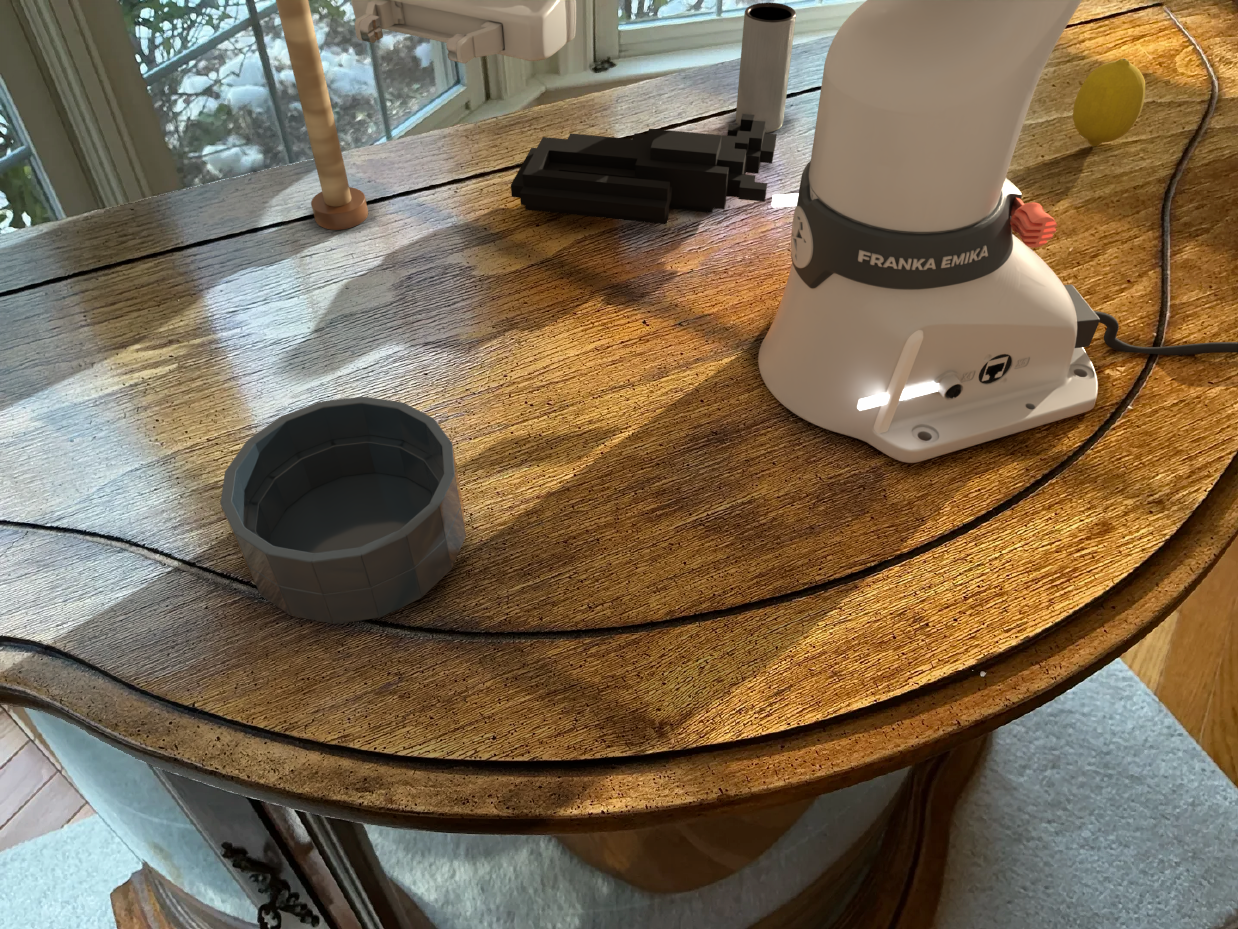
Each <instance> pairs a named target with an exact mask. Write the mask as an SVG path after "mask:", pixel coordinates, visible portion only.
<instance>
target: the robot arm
mask: <svg viewBox="0 0 1238 929" xmlns="http://www.w3.org/2000/svg"><path fill="white" fill-rule="evenodd" d="M350 1H351V2H350V3H351V8H352V11H353V16H354V18H355V21H354V29H355V35H356V38H357V40H358V41H361V42H366V43H371V44H374V43H376V42H377V41H380V40H381V39H383V38H384V34H383V30H386V31H390V32H394V33H400V34H404V35H409V36H413V37H418V38H422V39H427V40H431V41H436V42H441V43H446V45H445V46H446V50H447V58H448V60H449V61H451V62H456V63H460V64H464V65H465V64H467V63H469V62H470V61H471V60H473V59H474V58H475V59H476V58H482V57H487V56H488V57H489V56H492V55H501V56H505V57H509V58H513V59H514V58H515V59H519V60H523V61H528V62H536V61H537V62H539V61H543V60H547V59H549V58H551V57H552V56H553V55H554V54H556V53H558V51H560V50H561V49H562V48H563V47H564V46H566V44H568V43H570V42H571V41H573V40H574V39H575V37H576V28H577V0H350ZM1082 1H1083V0H866V1H864V2H863V3H862V4H861V5H859V7H857V8H856V9H855V10H854V11H853V12H852V13H851V14H850V15H849V16H848V17H847V18H846V20H845V21H843V23H842V24H841V26H840V27H839V29H838V30H837V32H836V34H835V36H834V37H833V39H832V41H831V43H830V46H829V48H828V50H827V54H826V56H825V61H824V65H823V72H822V79H821V85H820V86H821V87H820V91H819V92H820V94H819V101H818V107H817V114H816V120H815V122H816V123H815V129H814V135H813V141H812V147H811V148H812V150H811V155H810V160H809V161H808V162H807V163H806V165H805V167H804V168H803V170H802V173H801V178H800V183H799V190H798V193H785V194H782V193H781V194H772V199H771V207H772V208H784V207H794V211H793V216H792V225H791V234H790V258H791V259H790V260H791V265H790V270H789V274H788V276H787V281H786V284H785V287H784V289H783V290H784V291H783V294H782V297H781V299H780V302H779V306H778V308H777V310H776V314H775V316H774V318H773V321H772V323H771V324H770V327H769V329H768V331H767V333H766V334H765V337H764V339H763V340H762V342H761V344H760V347H759V351H758V356H757V357H758V358H757V361H758V371H759V373H760V376H761V378H762V381H763V383H764V385H765V387H766V388H767V390H769V392H770V393H771V395H772V396H773V397H774V398H775V399H776V400H777V401H778V402H779V403H780V404H782V406H784V407H785V408H786V409H787V410H789V411H790V412H792V414H795V416H798V417H799V418H801V419H803V420H805V421H806V422H809V423H810V424H812V425H815V426H817V427H819V428H822V429H825V430H827V431H830V432H834V433H837V434H841V435H844V436H848V437H850V438H854V439H856V440H857V439H858V440H860V441H862V442H865V443H867V444H869V445H870V446H872V447H873V448H875V449H876V450H878V451H880V452H881V453H883V454H884V455H886V456H888V457H890V458H892V459H893V460H896V461H898V462H901V463H907V464H916V463H919V462H924V461H927V460H930V459H934V458H937V457H940V456H944V455H946V454H947V455H948V454H950V453H954V452H957V451H960V450H964V449H967V448H970V447H974V446H977V445H980V444H984V443H987V442H990V441H995V440H997V439H1001V438H1004V437H1007V436H1011V435H1014V434H1017V433H1021V432H1024V431H1027V430H1030V429H1034V428H1038V427H1041V426H1043V425H1044V426H1045V425H1047V424H1050V423H1054V422H1058V421H1061V420H1064V419H1067V418H1071V417H1075V416H1077V415H1080V414H1083V413H1084V414H1085V413H1086V412H1089V411H1092V410H1093V409H1094V407H1095V404H1096V402H1097V397H1098V394H1099V393H1098V392H1099V382H1098V381H1099V380H1098V375H1097V373H1096V370H1095V367H1094V364H1093V361H1092V360H1091V358H1090V357H1089V355H1088V352H1086V350H1085V348H1089V347H1090V345H1091V344H1092V341H1093V338H1094V336H1095V334H1096V331H1097V329H1098V327H1099V324H1102V325H1104V326H1105V327H1106V329H1105V331H1104V335H1103V341H1104V343H1105V345H1106V346H1107V347H1108V348H1110V349H1112V350H1114V351H1115V352H1119V353H1126V354H1128V353H1129V354H1133V353H1134V354H1149V355H1162V356H1182V357H1183V356H1192V355H1202V354H1203V355H1204V354H1219V353H1221V354H1222V353H1223V354H1224V353H1227V354H1228V353H1229V354H1230V353H1237V354H1238V341H1215V342H1201V343H1189V344H1181V345H1170V346H1169V345H1167V346H1153V347H1151V346H1138V345H1133V344H1129V343H1127V342H1124V341H1122V340H1120V339H1119V338H1118V337H1117V334H1118V332H1119V329H1120V325H1119V324H1120V323H1119V322H1118V320H1117V319H1116V318H1115V316H1113V315H1111V314H1110V313H1106V312H1103V311H1099V310H1093V308H1092V307H1091V306H1090V305H1089V303H1088V302H1087V301H1086V300H1085V299H1084V297H1083V296H1082V295H1081V294H1080V292H1079V291H1078V289H1077V288H1076V287H1075V286H1074V285H1073V284H1064V283H1063V282H1062V280H1061V279H1060V278H1059V276H1058V275H1057V274H1056V273H1055V272H1054V270H1053V269H1052V268H1051V267H1050V266H1049V265H1048V263H1047V262H1046V261H1045V260H1044V259H1042V258H1041V257H1040V256H1039V255H1038V254H1037V253H1036V252H1035V251H1034V250H1033V249H1034V248H1039V247H1042V246H1044V245H1046V244H1047V243H1048V240H1052V239H1053V238H1054V234H1055V233H1056V232H1057V227H1058V224H1057V222H1056V220H1055V219H1054V217H1052V216H1051V215H1050V214H1049V213H1047V212H1045V209H1044V207H1043V205H1042V204H1040V203H1039V202H1027V203H1024V201H1023V200H1022V197H1023V193H1022V192H1021V190H1020V189H1019V188H1018V187H1017V186H1016V185H1015V184H1014V183H1013V182H1012V181H1011V180H1010V179H1009V178H1007V175H1008V172H1009V169H1010V167H1011V166H1010V165H1011V162H1012V160H1013V157H1014V153H1015V151H1016V147H1017V144H1018V141H1019V138H1020V136H1021V132H1022V130H1023V126H1024V123H1025V122H1026V121H1025V120H1026V118H1027V114H1028V112H1029V108H1030V106H1031V103H1032V99H1033V97H1034V94H1035V91H1036V89H1037V86H1038V84H1039V81H1040V79H1041V76H1042V74H1043V71H1044V70H1045V68H1046V65H1047V63H1048V61H1049V59H1050V57H1051V55H1052V52H1053V51H1054V50H1055V47H1056V45H1057V44H1058V42H1059V40H1060V38H1061V36H1062V35H1063V33H1064V31H1065V29H1066V28H1067V26H1068V24H1069V22H1070V21H1071V19H1072V18H1073V16H1074V15H1075V13H1076V11H1077V9H1078V8H1079V6H1080V5H1081V3H1082ZM1013 232H1015V233H1017V234H1018V236H1019V238H1020V239H1019V238H1018V237H1017V236H1016V235H1014V234H1013ZM1031 248H1033V249H1031Z"/></svg>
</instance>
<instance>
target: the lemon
mask: <svg viewBox="0 0 1238 929" xmlns="http://www.w3.org/2000/svg"><path fill="white" fill-rule="evenodd" d="M1145 97H1146V81H1145V77H1144V74H1142V72H1141V70H1140V69H1139V68H1138V67H1137V66H1136V65H1135V64H1133V63H1131V62H1130V60H1129V59H1128V58H1124V57H1121V58H1119V59H1118V60H1112V61H1108V62H1105V63H1103V64H1101V65H1099V66H1098V67H1096V68H1094V70H1092V71H1091V72H1089V74H1088V75H1087V77H1086V78H1085V80H1084V81H1083V83H1082V85H1081V86H1080V88H1079V89H1078V92H1077V93H1076V96H1075V100H1074V103H1073V110H1072V119H1073V125H1074V127H1075V130H1076V131H1077V132H1078V134H1079V135H1080V136H1081V137H1082V138H1083V139H1086V140H1087V142H1088V143H1089V145H1090V146H1091V147H1098V146H1099V145H1101V144H1105V143H1110V142H1113V141H1116V140H1118V139H1120V138H1121V137H1123V136H1124V135H1126V134H1127V133H1128V132H1129V131H1130V130H1131V128H1133V126H1134V125H1135V124H1136V122H1137V120H1138V119H1139V117H1140V116H1141V112H1142V110H1143V107H1144V102H1145Z"/></svg>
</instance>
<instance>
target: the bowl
mask: <svg viewBox="0 0 1238 929" xmlns="http://www.w3.org/2000/svg"><path fill="white" fill-rule="evenodd" d="M220 507H221V509H222V512H223V514H224V516H225V519H226V521H227V524H228V525H229V528H230V530H231V533H232V534H233V537H234V539H235V542H236V544H237V546H238V549H239V551H240V553H241V555H242V558H243V561H244V563H245V566H246V567H247V569H248V571H249V573H250V576H251V578H252V579H253V583H254V584H255V587H256V589H257V590H258V594H259V595H261V597H263V598H265V599H266V600H267V601H268V602H270V603H271V604H273V605H274V606H276V607H277V608H279V609H280V610H282V611H283V612H285V613H286V614H287V615H289V616H292V617H295V618H300V619H306V620H310V621H311V620H312V621H315V622H321V623H322V622H323V623H327V624H334V625H338V624H344V623H355V622H363V621H368V620H372V619H373V620H374V619H379V618H382V617H384V616H386V615H389V614H391V613H394V612H396V611H399V610H401V609H403V608H404V607H406V606H408V605H410V604H412V603H414V602H416V601H418V600H420V599H422V598H423V597H424V596H426V594H427V593H428V592H429V591H430V590H432V589H433V588H434V586H436V585H437V584H438V583H439V582H440V581H441V580H442V579H443V578H445V576H446V575H448V573H449V572H451V570H452V569H453V567H454V565H455V562H456V560H457V558H458V556H459V553H460V551H461V548H462V546H463V544H464V542H465V540H466V538H467V537H466V536H467V533H466V522H465V521H466V520H465V509H464V502H463V496H462V490H461V485H460V479H459V473H458V467H457V461H456V456H455V450H454V444H453V442H452V441H451V439H450V438H449V437H448V435H447V434H446V432H445V431H444V430H443V429H442V427H441V426H440V424H439V423H438V422H437V421H436V419H435V418H434V417H433V416H430V415H428V414H426V413H424V412H423V411H421V410H419V409H416V408H414V407H413V406H411V405H409V404H407V403H405V402H401V401H396V400H389V399H383V398H377V397H370V396H357V397H348V398H347V397H346V398H339V399H329V400H322V401H319V402H316V403H313V404H310V405H308V406H305V407H302V408H300V409H297V410H293V411H292V412H288V413H286V414H284V415H283V414H282V415H281V416H279V417H277V418H276V419H275V420H274V421H272V422H271V423H270V424H268V425H267V426H265V427H264V428H262V429H261V430H260V431H258V432H256V433H255V434H253V435H252V436H251V437H250V438H248V439H247V440H246V441H245V443H244V444H243V445H242V447H241V448H240V450H239V451H238V453H237V454H236V455H235V457H234V458H233V459H232V461H231V462H230V464H229V465H228V467H227V468H226V469H225V470H224V476H223V483H222V490H221V496H220Z"/></svg>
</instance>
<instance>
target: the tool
mask: <svg viewBox="0 0 1238 929" xmlns="http://www.w3.org/2000/svg"><path fill="white" fill-rule="evenodd" d="M754 116H755V115H752V114H742V117H741V124H740V125H737V124H730V123H729V124H728V126H727V127H728V128H727V133H726V134H727V135H725V134H714V133H703V132H693V131H692V132H691V131H682V130H671V129H670V130H669V129H660V128H659V129H658V128H649V129H648V131H647V133H638V132H637V133H636V132H634V134H633V136H632V138H626V137H625V138H624V137H613V136H602V135H592V134H583V133H582V134H581V133H570V134H569V135H568V137H567V138H558V137H549V136H542V137H541V139H540V141H539V143H538V145H537V147H531V148H530V150H529V151H528V153H527V155H526V156H525V158H524V160H523V162H522V164H521V165H520V167H519V169H518V171H517V173H516V174H515V176H514V178H513V180H512V182H511V184H510V193H511V198H517V199H520V200H519V201H520V206H524V209H525V211H532V212H542V213H550V214H559V215H571V216H580V217H589V218H598V219H609V220H610V219H611V220H617V221H619V220H620V221H627V222H637V223H646V224H657V225H664V226H666V225H667V224H668V221H669V218H670V210H680V211H689V212H698V213H699V212H701V213H708V214H713V212H714V210H725V209H726V204H727V197H731V198H737V199H738V200H744V201H754V202H763V203H764V202H766V197H767V190H768V183H767V182H759V181H756V176H757V175H754V174H758V175H759V174H760V173H759V172H760V168H761V163H764V164H773V161H774V156H775V151H776V144H777V136H778V134H777V133H770V132H767V133H765V129H766V127H765V123H766V121H755V120H754ZM746 173H748V174H746Z"/></svg>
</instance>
